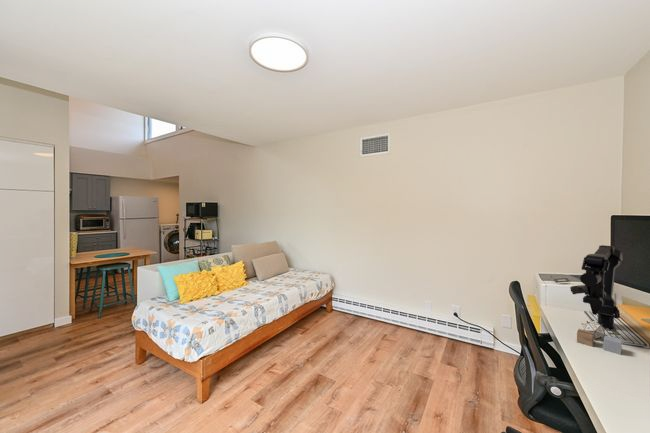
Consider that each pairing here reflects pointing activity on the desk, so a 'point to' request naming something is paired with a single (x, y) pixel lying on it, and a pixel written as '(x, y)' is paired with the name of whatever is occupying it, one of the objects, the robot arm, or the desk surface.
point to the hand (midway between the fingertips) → (594, 314)
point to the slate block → (612, 344)
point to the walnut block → (585, 337)
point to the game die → (594, 328)
